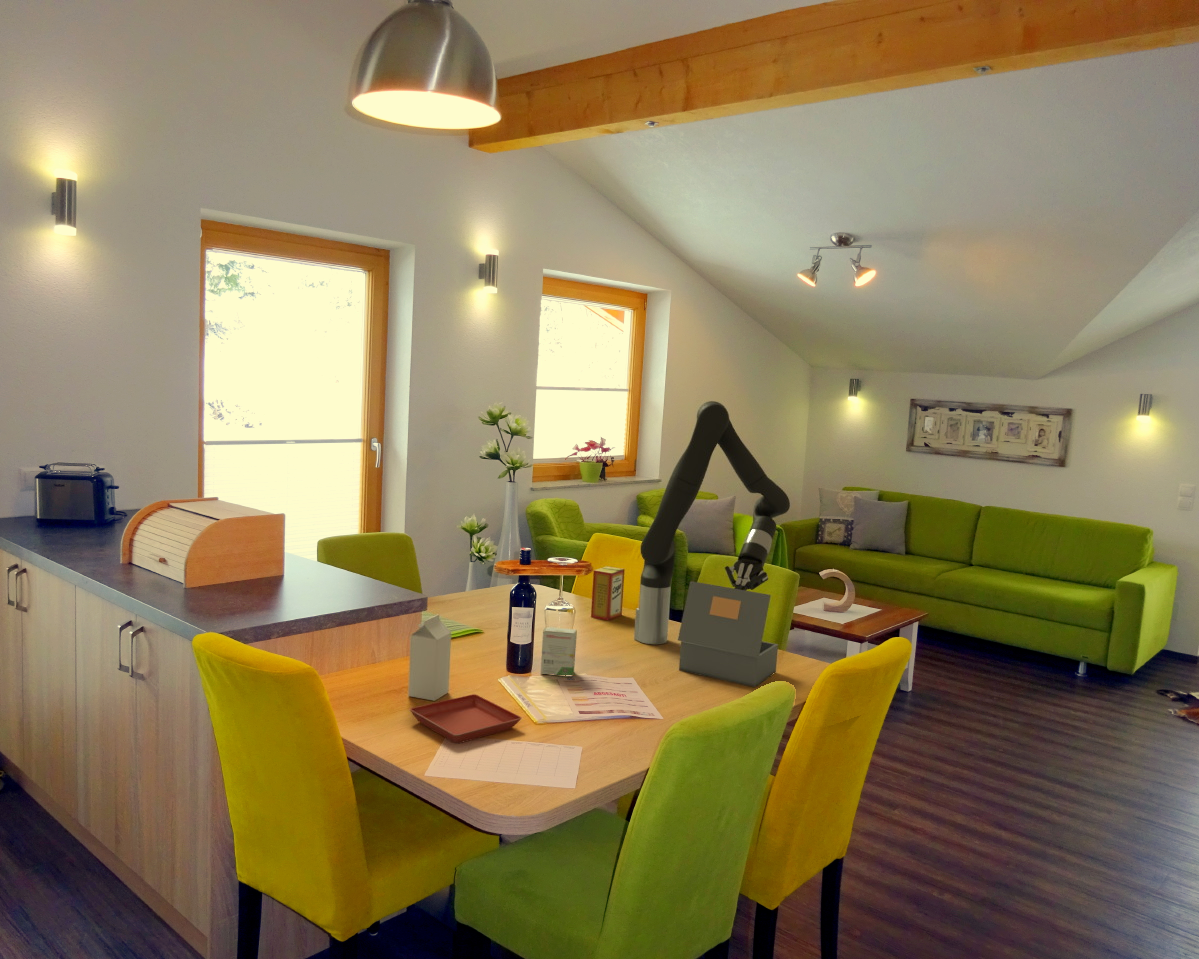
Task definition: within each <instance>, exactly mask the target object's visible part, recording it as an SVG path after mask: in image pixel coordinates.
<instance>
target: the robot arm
mask: <svg viewBox="0 0 1199 959" xmlns="http://www.w3.org/2000/svg"><path fill="white" fill-rule="evenodd" d="M717 445H718V446H719V447H720V449H721V450H722V451H723V454H724V455H725V456H726V458H727V461H728V462H729V463H730V465H731V467H732V469H733V470H734V472H735V474H736V476H737V477H738V478H739V480H740V481H741V483H742V485H743V486H744V487H745V489H746V490H747V491H748V492H749V493H750V494H760V495H761V496H760V497H759V498H758V499H757V500H756V501H755V503H754V505H753V513H752V514H753V515H752V523H751V526H750V529H749V531H748V533H747V535H746V536H745V539H744V542H743V544H742V546H741V549H740V550H739V551H740V552H739V555H738V557H737V560H736V561H735V562H734V564H733V565H732V566H728V565H727V566H725V567H724V570H725V572H726V574H727V577H728V579H729V581H730V584H731V586H732V588H733V587H734V589H739V590H745V591H748V590H752V591H754V590H755V589H756V588H758V587H759V586H760V585H762V584H764V583H765V582H767V581H769V576H768V573H767V572H765V571H764V567H765V566H764V565H765V564H766V561H767V558H768V555H769V554H770V552H771V551H770V550H771V546H772V542H773V540H774V536H775V534H776V531H777V523H776V521H775V520H774V519H773V518H776V517H779V516H781V515H784V514H787V513H788V512H789V510H790V507H791V502H790V499H789V497H788V494H787V493H786V492H785V491H784V489H782V488H781V487H780V486H779V485H777V483H775V482H774V481H773V480H772V479H770V477H769V476H767V474H766V473H765V470H764V469H763V468H762V467H761V465H760V464H759V462H758V461H757V459H756V458H755V457H754V455H753V454H752V453H751V451H750V450H749V448H748V447H747V446H746V444H745V443H744V442H743V441H742V440H741V438H740V436H739V435H738V433H737V431H736V430H735V428H734V425H733V423H732V422H731V420H730V415H729V412H728V410H727V408H726V407H725V406H724V405H723V404H722V403H721V402H719V401H714V400H709V401H706V402H704V403H703V404H702V405H700V407H699V408H698V410H697V413H696V422H695V426H694V429H693V432H692V436H691V438H690V441H689V443H688V445H687V447H686V449H685V450H684V452H683V454H682V455H681V456H680V458H679V460H678V461H677V463H676V465H675V467H674V468H673V470H672V472H671V475H670V477H669V480H668V482H667V485H666V488H665V489H664V493H663V496H662V498H661V501H660V503H659V507H658V509H657V513H656V515H655V518H654V520H653V521H652V523H651V525H650V527H649V529H648V531H647V533H646V534H645V536H644V537H643V539H642V541H641V544H640V555H641V557H642V559H643V560H644V563H643V568H642V572H641V574H640V584H639V600H638V607H637V608H636V609H635V619H634V633H633V634H634V636H633V639H634V640H635V641H637V642H638V643H639V642H640V643H642V644H647V645H663V644H666V643H667V642H668V636H669V635H668V633H669V620H670V602H671V591H672V590H671V589H672V588H671V586H672V579H673V575H674V569H675V568H674V567H675V559H676V543H675V540H674V539H675V536H676V532H677V530H678V529H679V526H680V524H681V523H682V521H683V519H684V518H685V517H686V515H687V513H688V512H689V511H690V508H691V507H692V505H693V504H694V502H695V500H696V499H697V496H698V493H699V491H700V489H701V487H702V484H703V481H704V479H705V476H706V473H707V471H708V468H709V465H710V461H711V459H712V455H713V452H714V450H715V449H716V447H717ZM735 573H736V575H737V576H736V579H735V578H734V574H735Z"/></svg>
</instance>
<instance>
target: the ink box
mask: <svg viewBox="0 0 1199 959" xmlns="http://www.w3.org/2000/svg"><path fill="white" fill-rule="evenodd" d="M577 635H578V629H572V628H563V627H552V626H546V627H545V628H544V629H543V631H542V642H541V643H542V644H541V657H540V659H541V662H540V675H541V674H554V675H565V676H566V675H573V676H574V673H575V662H576V651H577V650H576V649H577Z"/></svg>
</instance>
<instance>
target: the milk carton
mask: <svg viewBox="0 0 1199 959" xmlns="http://www.w3.org/2000/svg"><path fill="white" fill-rule="evenodd" d="M417 626H418V627H419V628H418V629H417V630H415V631H414V632H413V633H411V635H410V639H409V640H410V642H409V643H410V645H409V664H408V665H409V668H408V670H409V671H408V672H409V673H408V692H407V695H408V697H411V698H412V697H413V698H417V699H421V700H423V699H424V700H427V701H433V702H435V701H437V700H439V699H441V697H444V696H445V695H447V694H448V693H449V690H450V671H451V670H450V668H451V667H450V666H451V646H452V632H451V630H450V629H449V628H448V627H447V626H446V624H445V623H443V621H442V620H441V619H440V614H439V613H438V614H436V615H434V616H431V617H429V618H427V619H425V620H423V621H422V622H420V623H419V624H418V625H417Z"/></svg>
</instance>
